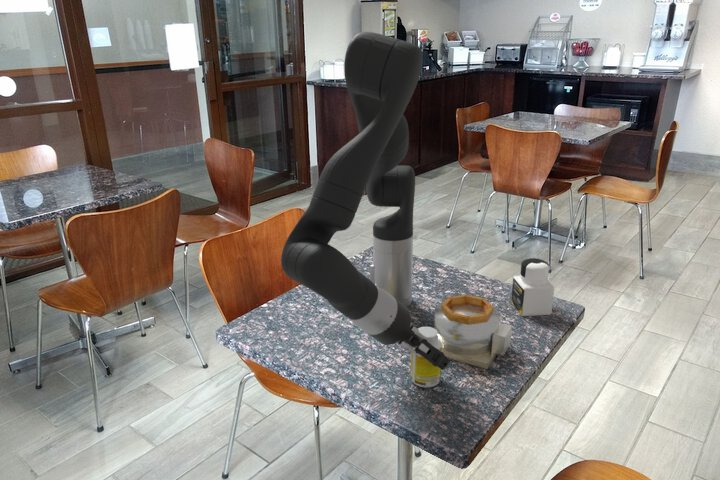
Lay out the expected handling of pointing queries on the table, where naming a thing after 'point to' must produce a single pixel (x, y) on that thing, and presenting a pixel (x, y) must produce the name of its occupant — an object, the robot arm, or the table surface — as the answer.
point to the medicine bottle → (533, 289)
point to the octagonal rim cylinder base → (471, 330)
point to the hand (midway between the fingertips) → (431, 353)
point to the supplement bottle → (425, 362)
